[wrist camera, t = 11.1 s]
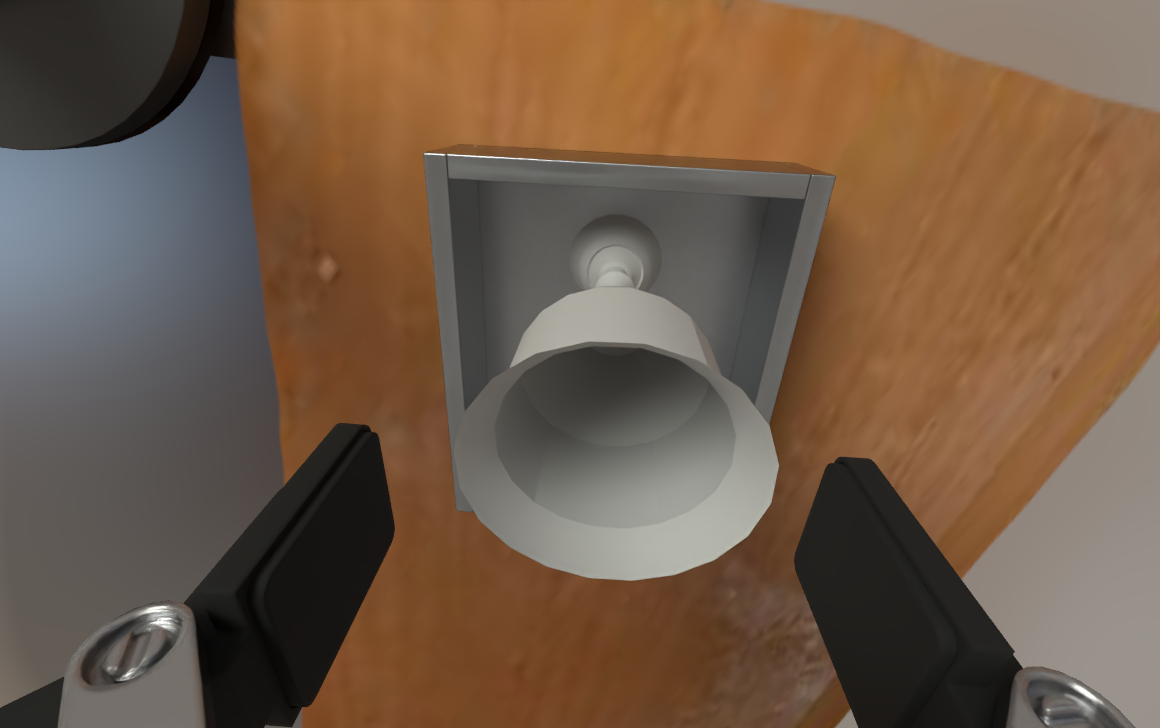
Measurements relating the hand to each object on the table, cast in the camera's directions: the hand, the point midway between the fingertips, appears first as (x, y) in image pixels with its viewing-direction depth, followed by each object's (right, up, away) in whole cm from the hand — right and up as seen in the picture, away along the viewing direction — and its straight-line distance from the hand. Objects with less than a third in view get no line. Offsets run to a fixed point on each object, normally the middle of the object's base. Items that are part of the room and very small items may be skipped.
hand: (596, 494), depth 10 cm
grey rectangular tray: (+1, +5, +19) cm, 20 cm away
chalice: (+2, +9, +17) cm, 19 cm away
